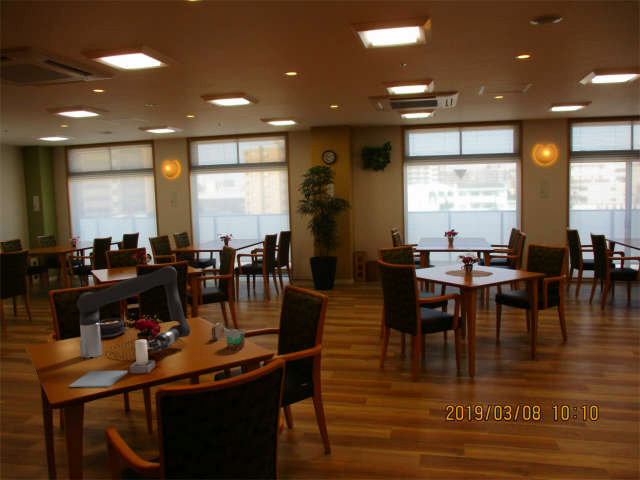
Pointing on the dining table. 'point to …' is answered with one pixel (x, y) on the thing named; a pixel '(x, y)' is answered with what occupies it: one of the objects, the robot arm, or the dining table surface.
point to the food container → (235, 338)
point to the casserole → (111, 327)
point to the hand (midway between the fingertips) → (146, 349)
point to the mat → (98, 379)
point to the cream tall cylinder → (141, 352)
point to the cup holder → (142, 367)
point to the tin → (218, 330)
